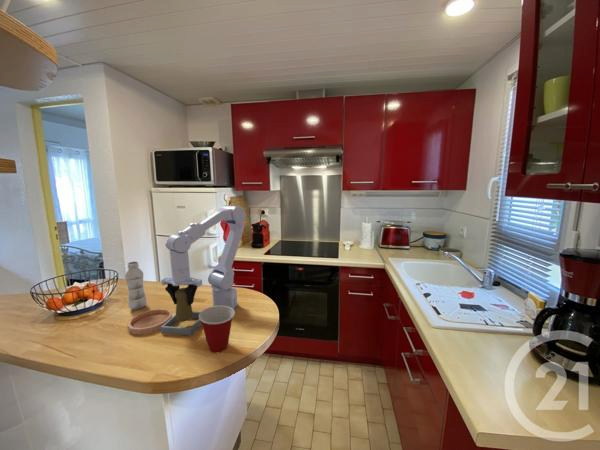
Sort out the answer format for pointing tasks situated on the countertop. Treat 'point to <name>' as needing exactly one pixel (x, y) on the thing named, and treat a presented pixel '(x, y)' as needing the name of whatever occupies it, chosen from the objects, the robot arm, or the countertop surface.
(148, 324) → the dish
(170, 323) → the parts tray
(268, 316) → the countertop surface
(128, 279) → the plastic bottle
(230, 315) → the plastic cup
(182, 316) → the olive rounded piece
